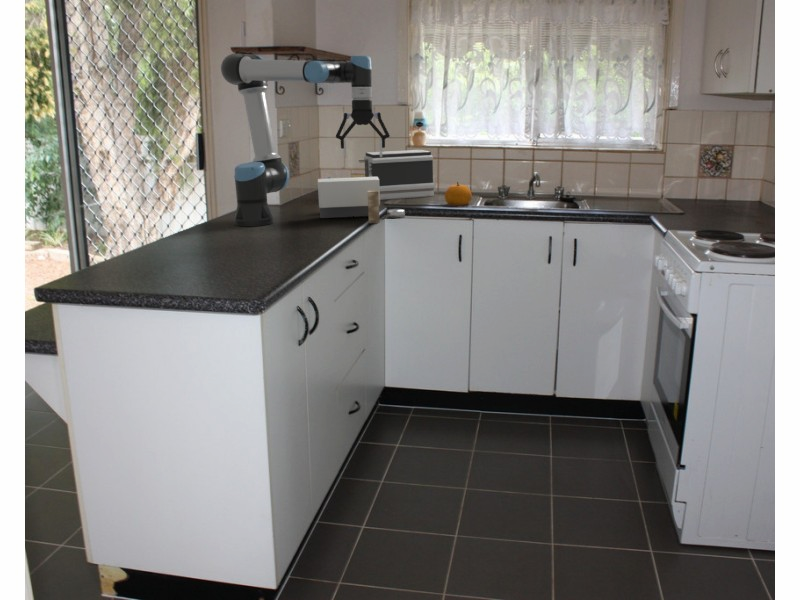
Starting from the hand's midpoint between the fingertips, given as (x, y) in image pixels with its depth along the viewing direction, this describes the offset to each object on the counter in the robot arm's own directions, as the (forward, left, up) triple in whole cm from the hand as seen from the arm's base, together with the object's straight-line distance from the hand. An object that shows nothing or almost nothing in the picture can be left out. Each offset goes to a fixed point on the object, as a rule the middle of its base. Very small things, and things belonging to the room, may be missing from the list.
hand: (363, 157), depth 285 cm
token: (+12, +9, -25) cm, 29 cm away
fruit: (+42, +36, -25) cm, 61 cm away
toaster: (+17, +72, -25) cm, 79 cm away
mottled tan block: (+3, +5, -25) cm, 25 cm away
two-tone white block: (-6, +12, -25) cm, 28 cm away
